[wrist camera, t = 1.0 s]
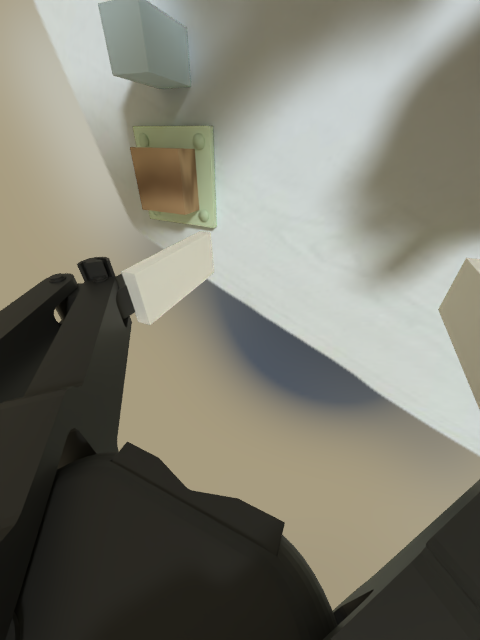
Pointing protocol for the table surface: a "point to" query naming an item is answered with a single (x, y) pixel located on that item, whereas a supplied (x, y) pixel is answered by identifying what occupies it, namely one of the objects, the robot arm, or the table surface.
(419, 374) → the table surface
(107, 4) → the column brick
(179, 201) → the base brick
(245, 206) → the table surface
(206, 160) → the plate
